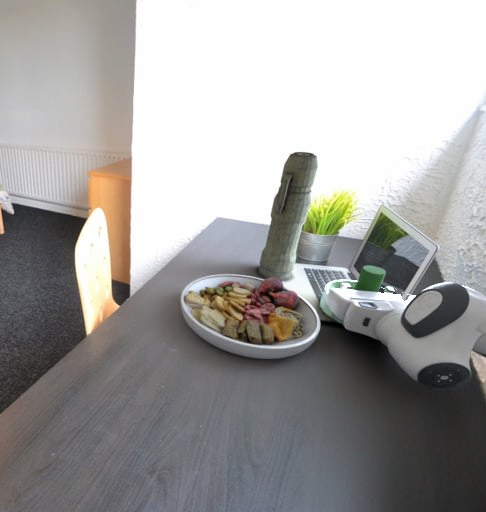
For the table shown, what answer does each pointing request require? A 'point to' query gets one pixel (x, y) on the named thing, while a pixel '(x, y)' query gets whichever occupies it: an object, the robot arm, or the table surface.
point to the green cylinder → (370, 279)
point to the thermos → (288, 215)
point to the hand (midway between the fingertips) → (365, 287)
